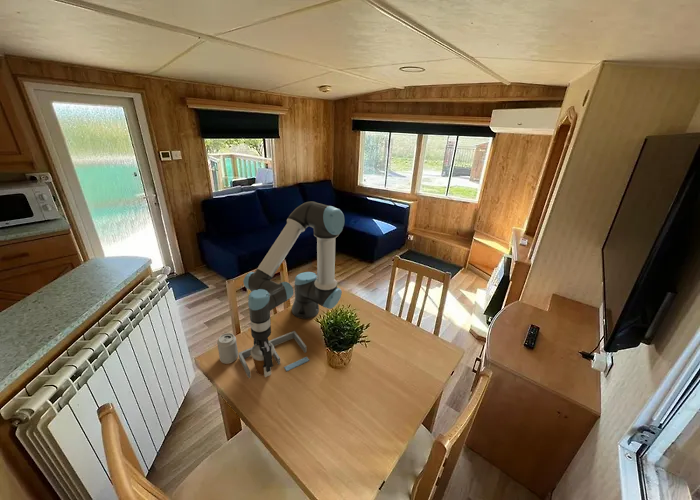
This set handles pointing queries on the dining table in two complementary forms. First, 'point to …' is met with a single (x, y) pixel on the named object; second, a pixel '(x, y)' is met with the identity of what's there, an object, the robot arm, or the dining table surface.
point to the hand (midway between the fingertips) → (264, 368)
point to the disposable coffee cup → (260, 357)
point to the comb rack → (274, 342)
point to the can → (227, 348)
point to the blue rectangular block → (296, 364)
